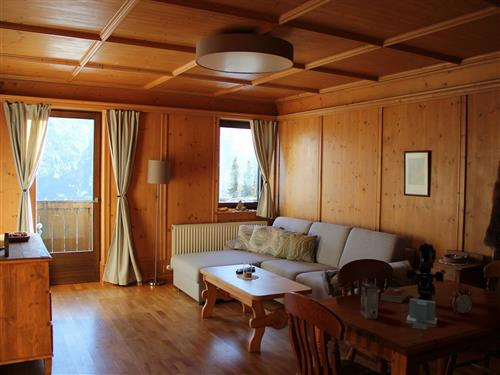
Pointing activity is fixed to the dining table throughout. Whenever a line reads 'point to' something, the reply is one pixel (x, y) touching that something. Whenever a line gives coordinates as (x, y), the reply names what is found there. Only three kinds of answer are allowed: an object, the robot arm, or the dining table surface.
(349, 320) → the dining table surface
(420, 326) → the mat
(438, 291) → the dining table surface
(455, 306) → the alarm clock
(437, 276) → the robot arm
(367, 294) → the coffee box
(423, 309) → the T block
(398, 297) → the hardcover book
